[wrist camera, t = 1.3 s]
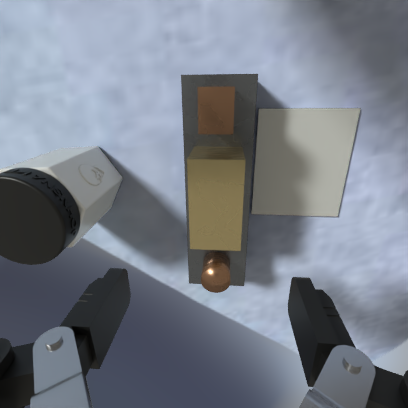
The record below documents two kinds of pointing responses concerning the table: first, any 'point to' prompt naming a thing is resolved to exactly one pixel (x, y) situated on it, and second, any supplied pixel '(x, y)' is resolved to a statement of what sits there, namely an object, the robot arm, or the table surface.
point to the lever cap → (216, 197)
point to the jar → (53, 201)
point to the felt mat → (302, 160)
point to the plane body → (219, 137)
